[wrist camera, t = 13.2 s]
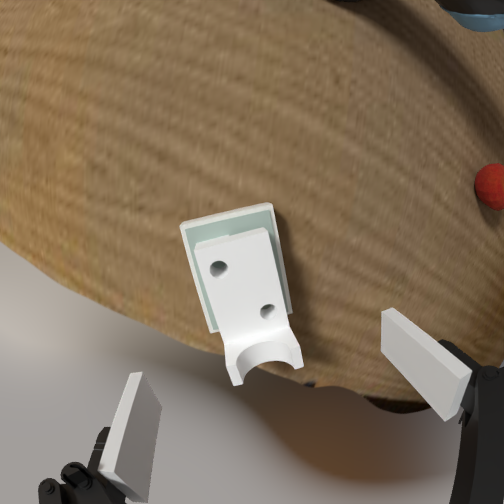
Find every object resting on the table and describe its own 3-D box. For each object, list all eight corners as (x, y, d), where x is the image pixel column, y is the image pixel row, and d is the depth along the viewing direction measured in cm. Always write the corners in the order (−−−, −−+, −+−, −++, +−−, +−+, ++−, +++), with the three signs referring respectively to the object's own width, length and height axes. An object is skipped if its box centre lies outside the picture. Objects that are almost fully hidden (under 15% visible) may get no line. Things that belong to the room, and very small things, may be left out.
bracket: (286, 330, 33) (303, 366, 26) (229, 346, 32) (233, 386, 25) (261, 225, 30) (277, 239, 22) (196, 243, 29) (190, 262, 22)
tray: (267, 202, 32) (272, 204, 29) (286, 303, 36) (293, 314, 32) (182, 222, 32) (179, 226, 28) (210, 321, 35) (210, 334, 32)
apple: (481, 214, 37) (512, 221, 30) (462, 187, 35) (496, 190, 28) (493, 182, 36) (523, 186, 29) (475, 154, 34) (508, 154, 27)
